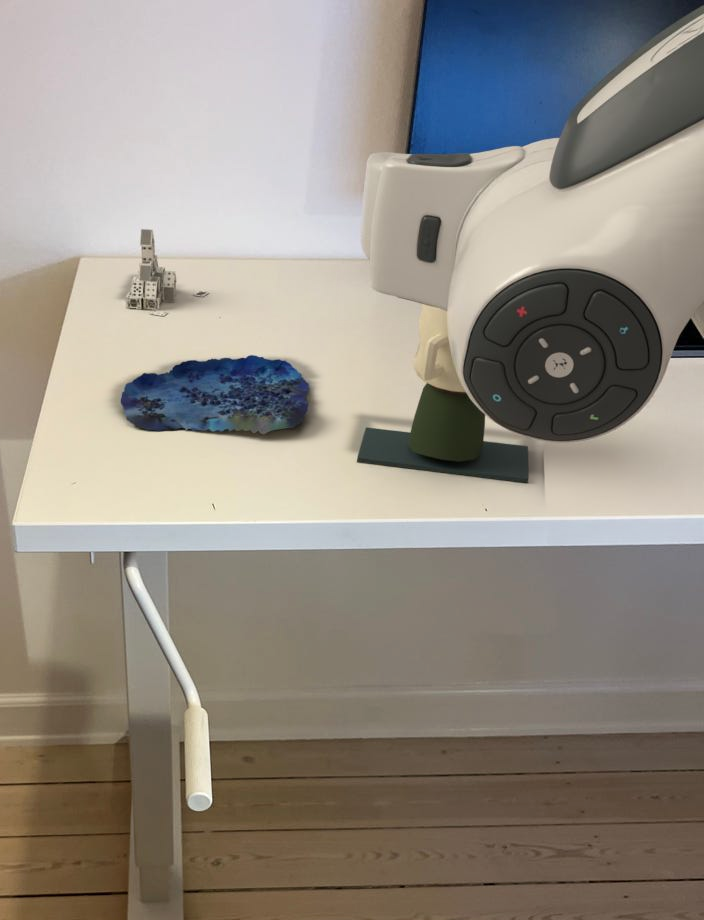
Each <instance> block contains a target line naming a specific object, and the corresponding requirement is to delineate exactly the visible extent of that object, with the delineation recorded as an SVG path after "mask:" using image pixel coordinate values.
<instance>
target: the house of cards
mask: <svg viewBox="0 0 704 920" xmlns="http://www.w3.org/2000/svg"><path fill="white" fill-rule="evenodd" d="M139 241H140V242H139V247H140V248H141V260H140V262H139V263H138V266H139V268H138V269H139V270H138V271H137V273H138V275H134V276H133V278H132V280H131V285H130V290H129V291H128V292H127V294H126V296H125V308H126V309H130V308H136V309H135V310H141V309H143V311H144V310H152V311H151V312H149V315H152V316H153V315H154V316H160V317H164V316H166V315H167V314H168V313H169V312H168V311H161V310H160V304H161V303H162V301H163V302H164V303H175V299H176V298H177V275H176V271H175V270H174V271H173V270H166V268H165V266H159V261H158V254H156V253H155V252H156V250H155V248H156V247H155V246H156V245H155V243H156V241H155V236H154V230H153V229H149V228H140V240H139ZM209 293H210V292H209V291H204V290H198V291H196V292H195V293H193V294H192V296H197V297H200V298H201V297H202V298H203V297H204V296H206V295H207V294H209Z"/></svg>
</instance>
